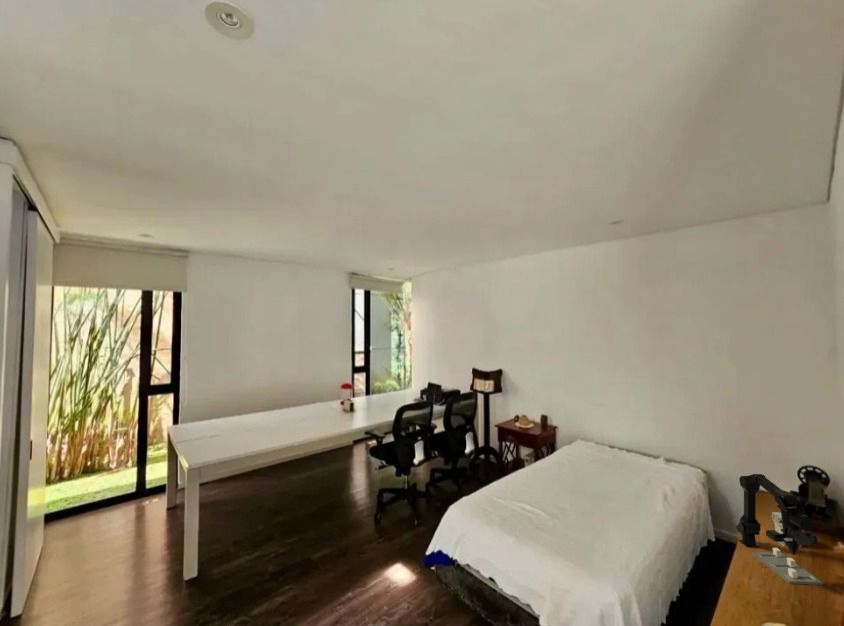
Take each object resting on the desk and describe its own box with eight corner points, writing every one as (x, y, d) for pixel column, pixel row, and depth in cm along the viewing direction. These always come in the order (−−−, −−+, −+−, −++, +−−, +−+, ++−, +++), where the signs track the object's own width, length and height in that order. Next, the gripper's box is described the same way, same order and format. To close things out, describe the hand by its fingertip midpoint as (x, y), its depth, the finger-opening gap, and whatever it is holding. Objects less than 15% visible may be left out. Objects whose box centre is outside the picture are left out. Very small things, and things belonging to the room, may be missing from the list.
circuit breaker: (814, 548, 203) (811, 519, 204) (784, 546, 206) (781, 518, 207) (803, 540, 210) (800, 513, 211) (774, 539, 213) (771, 512, 214)
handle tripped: (788, 575, 180) (787, 568, 181) (793, 575, 180) (792, 568, 180) (792, 578, 178) (792, 571, 178) (797, 578, 178) (796, 571, 178)
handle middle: (787, 564, 188) (786, 557, 189) (791, 564, 188) (791, 557, 188) (791, 567, 186) (790, 560, 186) (795, 567, 186) (795, 560, 186)
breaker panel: (752, 554, 200) (751, 551, 200) (781, 555, 198) (781, 552, 198) (789, 583, 177) (789, 580, 177) (822, 585, 175) (822, 582, 175)
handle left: (773, 554, 197) (772, 547, 198) (777, 554, 197) (776, 547, 197) (776, 556, 195) (776, 550, 195) (781, 556, 195) (780, 550, 195)
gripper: (781, 529, 174) (785, 563, 173) (827, 530, 171) (831, 565, 170) (763, 517, 185) (766, 550, 184) (805, 518, 182) (809, 551, 181)
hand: (793, 554), depth 179 cm, fingers closed
